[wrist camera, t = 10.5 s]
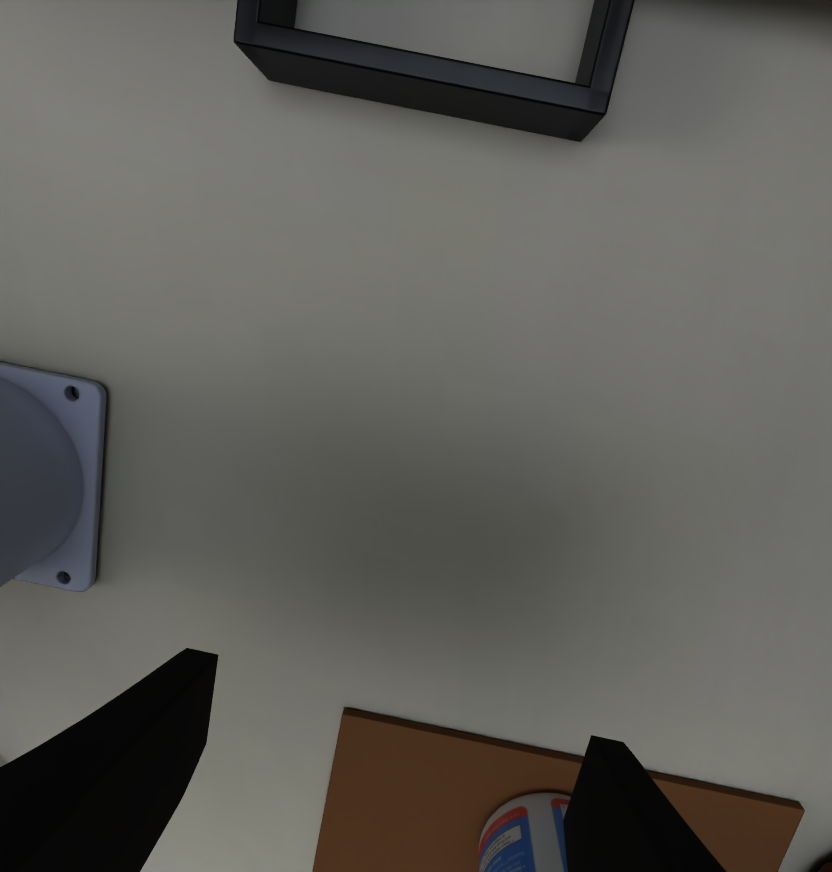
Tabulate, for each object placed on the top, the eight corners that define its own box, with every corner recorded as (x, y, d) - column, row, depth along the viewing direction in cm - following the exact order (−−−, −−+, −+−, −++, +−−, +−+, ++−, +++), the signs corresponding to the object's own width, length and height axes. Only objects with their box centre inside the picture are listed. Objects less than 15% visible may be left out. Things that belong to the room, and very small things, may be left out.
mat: (314, 864, 25) (312, 873, 25) (344, 706, 23) (342, 714, 23) (732, 952, 25) (737, 963, 25) (799, 801, 23) (805, 810, 23)
